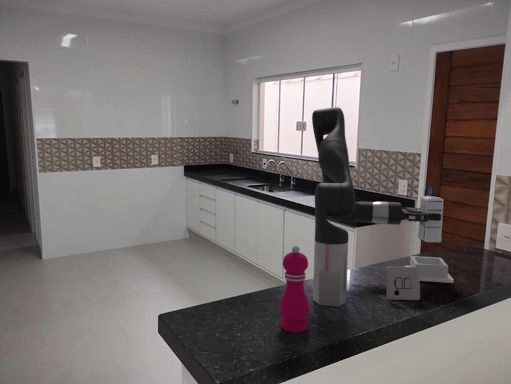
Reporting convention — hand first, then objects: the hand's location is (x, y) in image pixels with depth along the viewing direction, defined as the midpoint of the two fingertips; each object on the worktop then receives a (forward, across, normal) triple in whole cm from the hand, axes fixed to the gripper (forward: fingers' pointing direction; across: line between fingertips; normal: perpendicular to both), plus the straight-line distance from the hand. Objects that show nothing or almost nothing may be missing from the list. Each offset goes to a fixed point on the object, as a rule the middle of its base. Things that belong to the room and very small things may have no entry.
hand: (438, 215), depth 138 cm
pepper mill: (-42, -49, +21) cm, 68 cm away
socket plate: (-2, 0, +21) cm, 21 cm away
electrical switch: (-14, -23, +21) cm, 34 cm away
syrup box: (-2, 0, +9) cm, 9 cm away
